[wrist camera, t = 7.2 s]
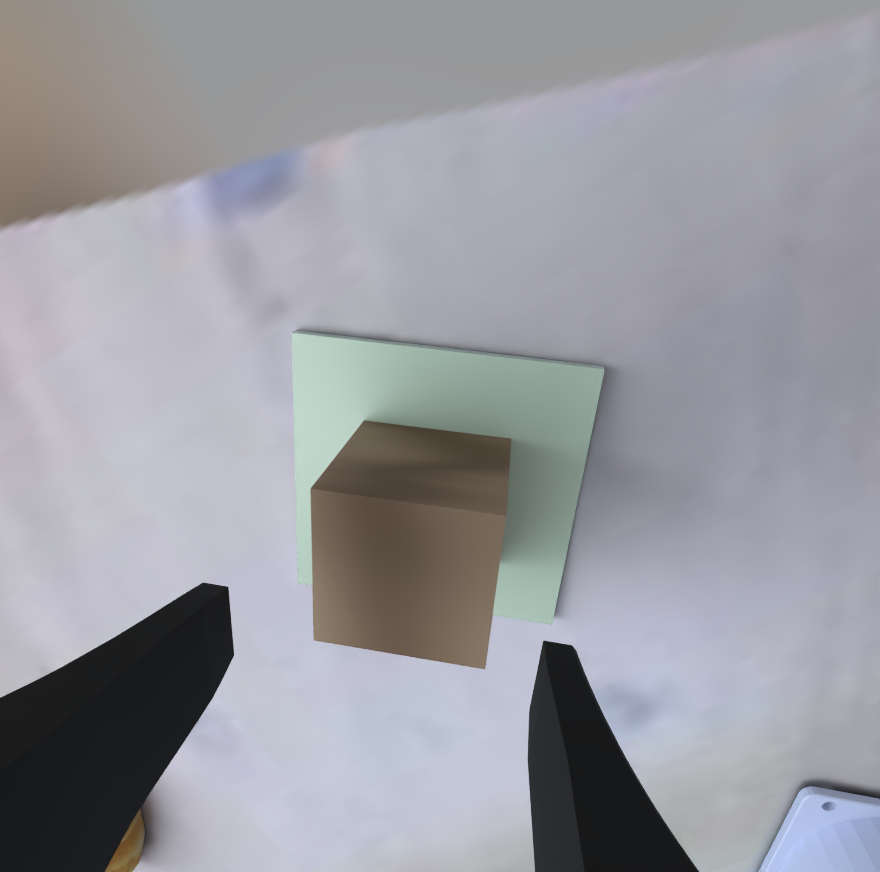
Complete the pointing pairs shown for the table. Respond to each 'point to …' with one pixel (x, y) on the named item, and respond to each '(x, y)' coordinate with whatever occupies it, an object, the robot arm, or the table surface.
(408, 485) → the walnut cube
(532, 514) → the green pad
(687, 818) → the table surface
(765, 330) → the table surface
